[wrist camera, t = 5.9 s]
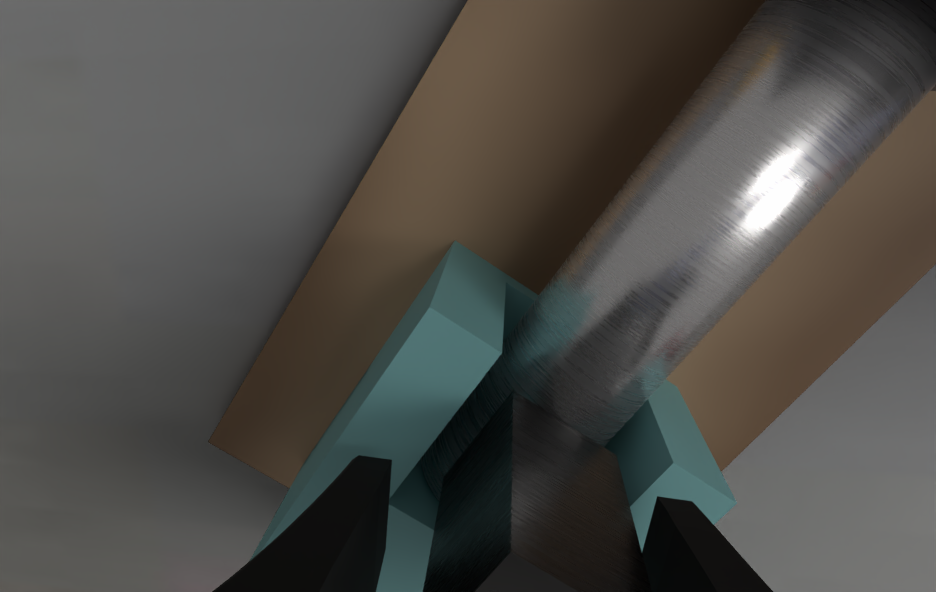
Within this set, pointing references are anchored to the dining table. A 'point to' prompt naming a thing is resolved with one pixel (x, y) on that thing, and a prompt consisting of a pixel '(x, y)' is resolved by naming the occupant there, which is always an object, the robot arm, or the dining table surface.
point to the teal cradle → (445, 390)
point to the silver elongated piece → (662, 291)
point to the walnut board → (576, 217)
